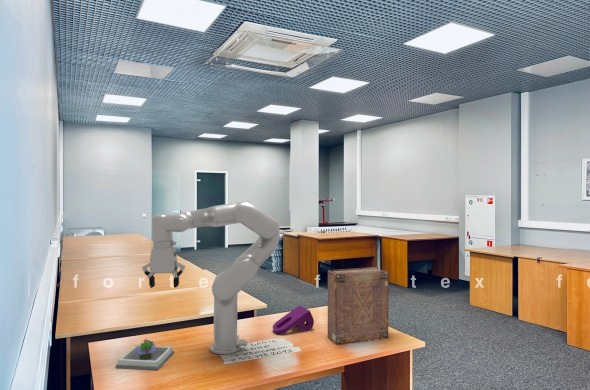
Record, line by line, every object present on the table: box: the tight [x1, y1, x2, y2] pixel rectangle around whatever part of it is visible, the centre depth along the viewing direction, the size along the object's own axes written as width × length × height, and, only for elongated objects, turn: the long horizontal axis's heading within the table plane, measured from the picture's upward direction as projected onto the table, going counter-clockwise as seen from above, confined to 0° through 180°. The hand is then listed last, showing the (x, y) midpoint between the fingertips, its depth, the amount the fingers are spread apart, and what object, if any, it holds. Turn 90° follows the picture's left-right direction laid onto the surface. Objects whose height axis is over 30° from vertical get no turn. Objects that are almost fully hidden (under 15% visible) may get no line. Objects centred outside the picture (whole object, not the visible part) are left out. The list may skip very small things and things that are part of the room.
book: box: [327, 266, 390, 345], centre depth 179 cm, size 25×9×30 cm, turn 108°
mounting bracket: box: [272, 305, 315, 335], centre depth 189 cm, size 9×8×18 cm
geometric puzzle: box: [136, 339, 157, 359], centre depth 154 cm, size 7×7×8 cm
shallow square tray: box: [115, 344, 175, 371], centre depth 154 cm, size 16×15×3 cm
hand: (164, 286), depth 163 cm, fingers open, 9 cm apart
